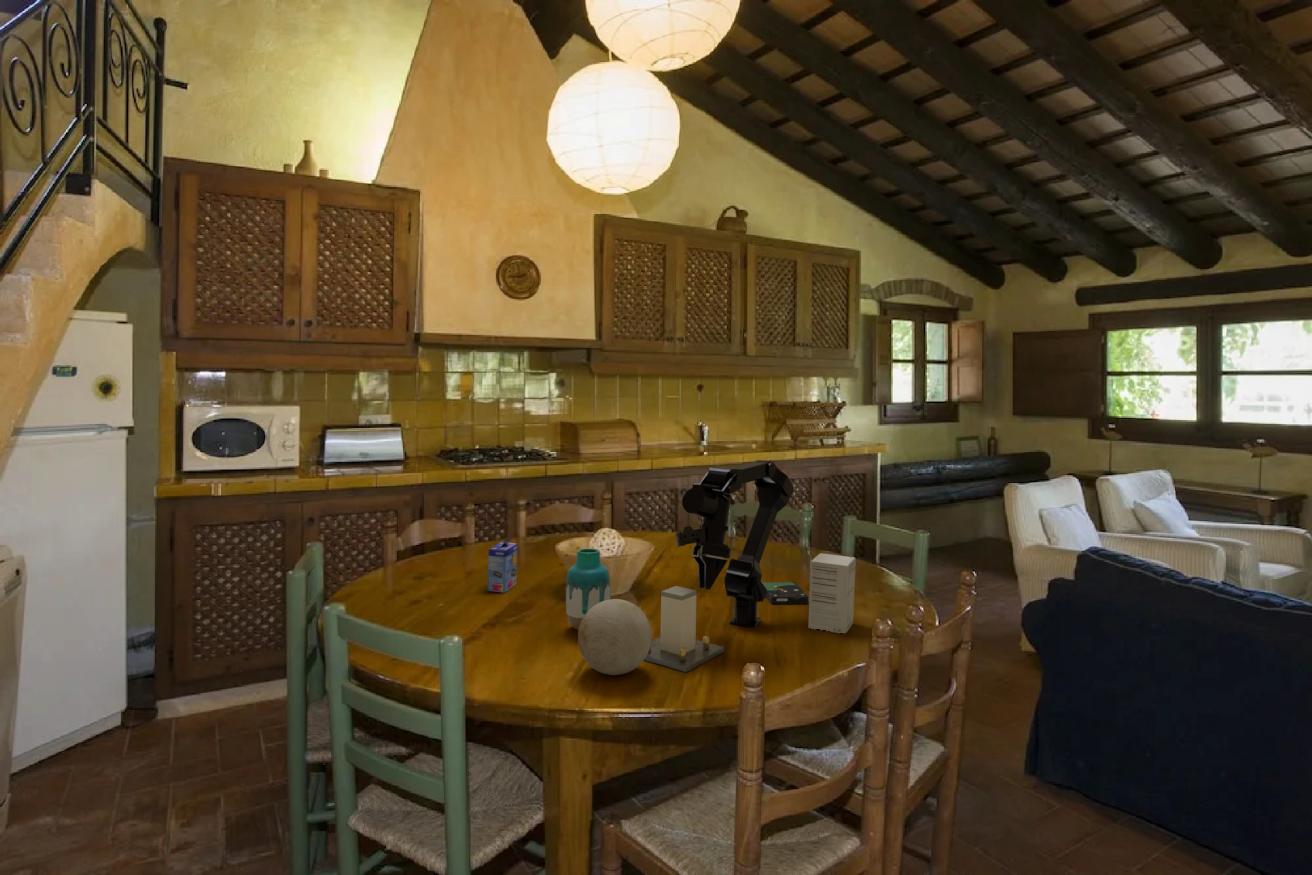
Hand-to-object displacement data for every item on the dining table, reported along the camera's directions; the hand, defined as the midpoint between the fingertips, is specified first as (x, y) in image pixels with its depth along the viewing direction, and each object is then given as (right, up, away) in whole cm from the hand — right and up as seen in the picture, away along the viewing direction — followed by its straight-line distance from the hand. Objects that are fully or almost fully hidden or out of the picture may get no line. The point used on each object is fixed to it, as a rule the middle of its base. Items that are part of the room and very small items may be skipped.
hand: (704, 588), depth 171 cm
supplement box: (+32, -12, +14) cm, 37 cm away
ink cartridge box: (-54, -9, +43) cm, 70 cm away
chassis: (-6, -13, -6) cm, 16 cm away
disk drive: (+24, -11, +39) cm, 47 cm away
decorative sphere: (-19, -14, -16) cm, 29 cm away
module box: (-6, -12, -6) cm, 15 cm away
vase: (-27, -12, +9) cm, 31 cm away
